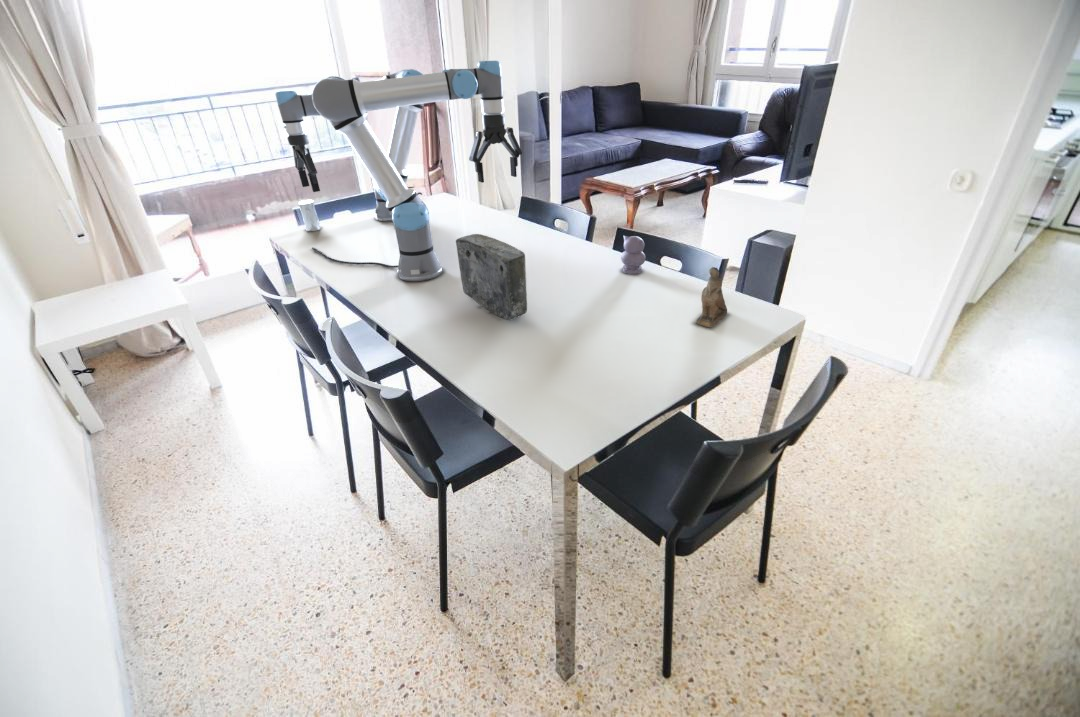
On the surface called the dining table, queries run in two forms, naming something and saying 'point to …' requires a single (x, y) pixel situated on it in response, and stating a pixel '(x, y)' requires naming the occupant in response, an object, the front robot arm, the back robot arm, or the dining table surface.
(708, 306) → the brown carved statuette
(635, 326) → the dining table surface
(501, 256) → the concrete block
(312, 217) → the canister
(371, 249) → the dining table surface
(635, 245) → the cat figurine
